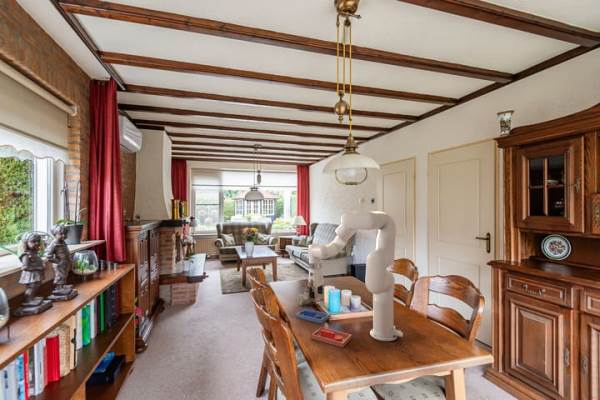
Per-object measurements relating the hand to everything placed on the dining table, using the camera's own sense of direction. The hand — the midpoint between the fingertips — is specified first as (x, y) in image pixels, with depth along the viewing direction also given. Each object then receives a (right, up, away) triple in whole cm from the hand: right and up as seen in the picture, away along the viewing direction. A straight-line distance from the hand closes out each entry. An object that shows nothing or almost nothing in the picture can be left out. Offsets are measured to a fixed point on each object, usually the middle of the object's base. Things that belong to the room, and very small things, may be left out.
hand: (316, 296), depth 161 cm
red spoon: (+5, -10, -28) cm, 30 cm away
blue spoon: (-2, -11, -1) cm, 11 cm away
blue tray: (-2, -11, -2) cm, 12 cm away
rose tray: (+6, -11, -28) cm, 30 cm away
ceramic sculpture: (-4, -12, +20) cm, 23 cm away
